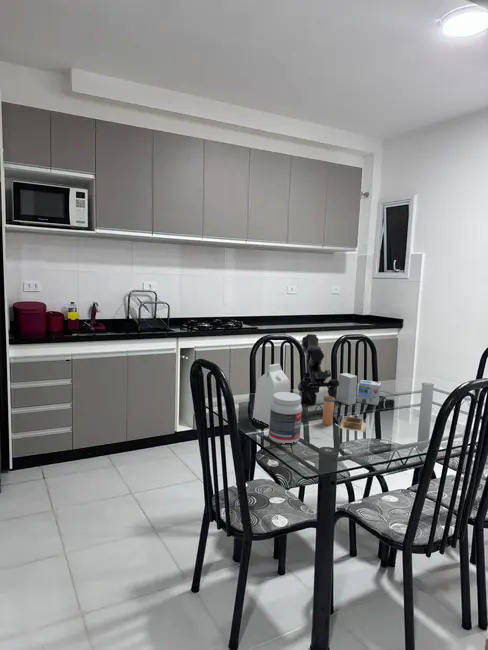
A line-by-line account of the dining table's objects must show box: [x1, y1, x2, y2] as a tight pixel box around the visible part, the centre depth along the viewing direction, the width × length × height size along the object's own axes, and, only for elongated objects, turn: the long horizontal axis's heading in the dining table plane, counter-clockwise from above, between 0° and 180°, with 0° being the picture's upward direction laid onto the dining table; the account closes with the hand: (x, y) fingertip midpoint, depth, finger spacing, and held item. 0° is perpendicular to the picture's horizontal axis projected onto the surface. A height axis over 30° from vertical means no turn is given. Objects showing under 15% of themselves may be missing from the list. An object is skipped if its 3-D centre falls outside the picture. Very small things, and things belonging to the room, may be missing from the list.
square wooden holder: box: [338, 415, 367, 433], centre depth 203 cm, size 11×11×4 cm
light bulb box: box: [356, 379, 382, 406], centre depth 241 cm, size 11×7×11 cm, turn 68°
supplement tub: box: [268, 391, 303, 445], centre depth 186 cm, size 13×13×18 cm
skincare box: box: [336, 372, 358, 406], centre depth 238 cm, size 8×6×15 cm
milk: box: [252, 363, 291, 425], centre depth 206 cm, size 12×12×26 cm
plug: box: [321, 395, 336, 427], centre depth 202 cm, size 5×5×14 cm
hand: (322, 402), depth 210 cm, fingers open, 9 cm apart
